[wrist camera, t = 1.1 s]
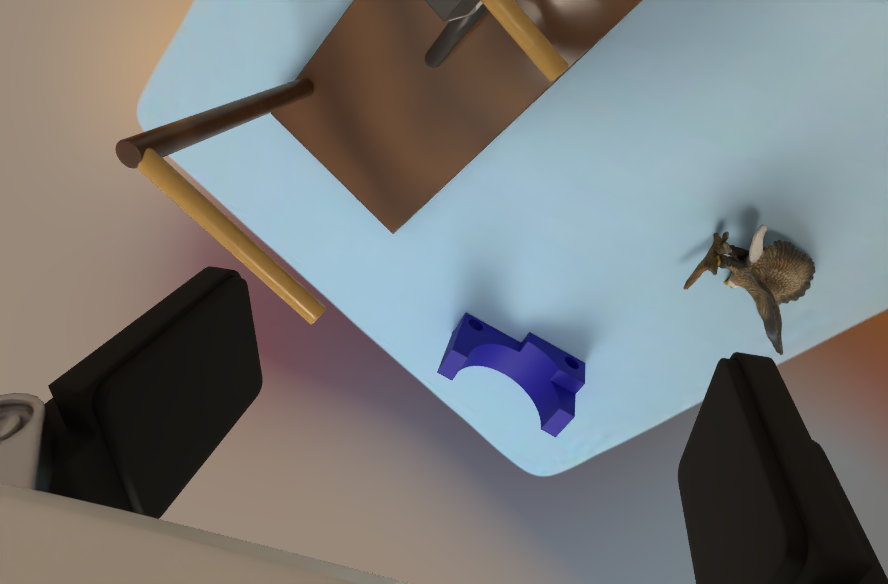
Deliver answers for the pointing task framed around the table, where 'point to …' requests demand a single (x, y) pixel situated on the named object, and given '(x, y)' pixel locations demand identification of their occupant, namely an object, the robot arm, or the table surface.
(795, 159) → the table surface
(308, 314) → the rack
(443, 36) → the hanger
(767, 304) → the eagle figurine
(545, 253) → the table surface
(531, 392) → the cable clip
